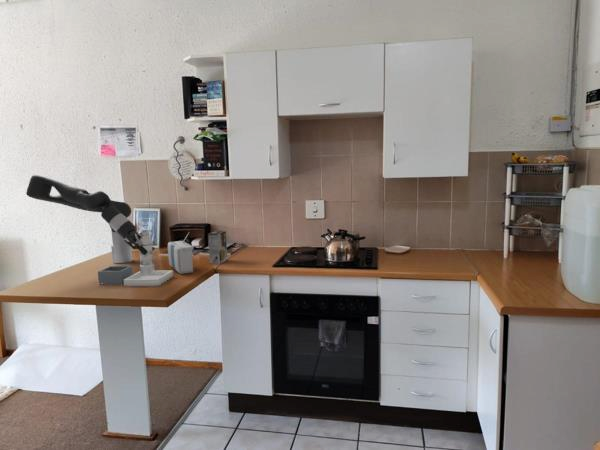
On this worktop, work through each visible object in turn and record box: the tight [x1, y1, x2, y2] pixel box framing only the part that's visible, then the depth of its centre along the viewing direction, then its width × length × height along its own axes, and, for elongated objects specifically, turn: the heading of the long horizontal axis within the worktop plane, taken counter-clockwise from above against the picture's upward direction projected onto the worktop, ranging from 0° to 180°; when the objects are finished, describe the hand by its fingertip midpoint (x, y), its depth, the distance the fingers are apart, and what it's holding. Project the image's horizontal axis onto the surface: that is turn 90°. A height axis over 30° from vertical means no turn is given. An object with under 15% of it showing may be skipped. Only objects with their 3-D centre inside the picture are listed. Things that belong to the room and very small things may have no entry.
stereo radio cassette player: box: [167, 231, 194, 275], centre depth 214 cm, size 21×8×20 cm, turn 29°
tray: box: [123, 269, 174, 287], centre depth 195 cm, size 16×16×3 cm
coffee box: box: [207, 230, 228, 265], centre depth 230 cm, size 9×6×16 cm
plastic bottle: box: [139, 229, 156, 275], centre depth 193 cm, size 6×7×20 cm
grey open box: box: [97, 265, 134, 285], centre depth 197 cm, size 11×10×6 cm
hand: (149, 251), depth 193 cm, fingers closed on plastic bottle, 6 cm apart
